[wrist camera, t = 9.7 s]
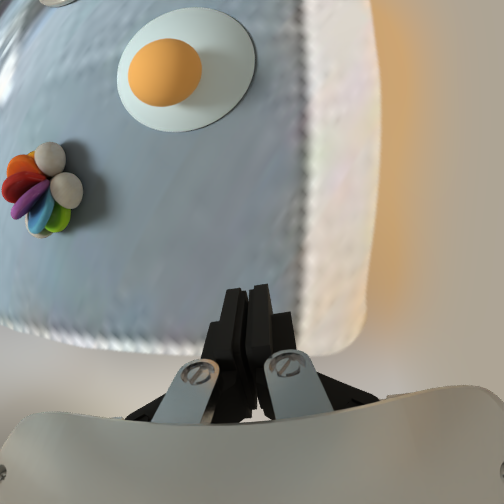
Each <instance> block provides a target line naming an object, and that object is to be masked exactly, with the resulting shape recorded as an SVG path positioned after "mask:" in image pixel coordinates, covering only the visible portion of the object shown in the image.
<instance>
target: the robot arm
mask: <svg viewBox="0 0 504 504" xmlns="http://www.w3.org/2000/svg"><path fill="white" fill-rule="evenodd" d="M39 1H40V2H41V3H42V4H44V5H45V6H48V7H60V6H64V5H66V4H68V3H71V2H73V1H74V0H39ZM257 397H258V400H259V404H260V407H261V409H263V411H264V414H265V416H266V417H268V418H270V419H271V420H269V421H258V422H244V423H239V422H240V421H242V420H243V419H244V418H251V417H252V410H255V409H257ZM0 504H504V402H503V401H502V400H501V399H500V398H499V397H498V396H497V395H495V394H494V393H493V392H491V391H490V390H488V389H486V388H483V387H479V386H472V385H457V386H445V387H438V388H431V389H427V390H422V391H417V392H413V393H405V394H395V395H387V398H386V399H378V398H377V397H376V396H374V395H372V394H370V393H367V392H365V391H362V390H360V389H357V388H354V387H352V386H349V385H347V384H344V383H342V382H339V381H337V380H335V379H333V378H330V377H328V376H325V375H323V374H320V373H318V372H316V370H315V368H314V366H313V364H312V361H311V359H310V358H309V356H308V355H307V354H306V353H304V352H302V351H299V350H297V349H296V343H295V336H294V330H293V324H292V318H291V312H284V313H277V314H273V311H272V305H271V299H270V294H269V288H268V284H262V285H256V286H254V289H252V290H249V302H248V297H247V292H246V291H241V288H235V289H228V290H227V291H226V295H225V299H224V303H223V308H222V312H221V316H220V321H216V322H211V323H210V326H209V329H208V333H207V337H206V340H205V344H204V348H203V352H202V355H201V359H197V360H193V361H191V362H188V363H186V364H185V365H184V366H182V367H181V368H180V370H179V371H178V373H177V374H176V377H175V378H174V380H173V382H172V383H171V386H170V387H169V389H168V391H167V393H165V394H164V395H162V396H160V397H159V398H157V399H155V400H154V401H152V402H150V403H148V404H147V405H145V406H143V407H142V408H140V409H138V410H136V411H135V412H133V413H131V414H130V415H128V416H127V417H126V418H125V420H124V419H123V418H122V417H115V418H104V417H97V416H90V415H83V414H76V413H68V412H42V413H36V414H32V415H30V416H27V417H25V418H24V419H22V420H21V422H19V424H18V425H17V426H16V427H15V428H14V430H13V431H12V432H11V434H10V435H9V437H8V438H7V440H6V441H5V443H4V445H3V446H2V448H1V449H0Z"/></svg>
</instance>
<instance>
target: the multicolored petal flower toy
mask: <svg viewBox="0 0 504 504" xmlns="http://www.w3.org/2000/svg"><path fill="white" fill-rule="evenodd" d="M65 163H66V156H65V152H64V150H63V148H62V147H61V146H60V145H59V144H57V143H54V142H46V143H43V144H41V145H40V146H38V147H37V149H36V150H35V151H32V152H30V153H29V154H28V155H18V156H15V157H14V158H13V159H12V160H11V161H10V162H9V164H8V167H7V179H6V180H5V181H4V183H3V185H2V195H3V197H4V198H5V200H7V201H8V202H10V203H15V204H14V206H13V207H12V209H11V216H12V218H13V219H19V218H21V217H22V216H24V215H25V214H26V218H25V223H26V227H27V230H28V231H29V233H30V234H31V235H33V236H34V237H36V238H46V237H48V236H50V235H51V234H52V233H53V232H60V231H62V230H64V229H65V228H66V226H67V225H68V223H69V221H70V217H71V209H74V208H76V207H77V206H78V205H79V204H80V202H81V200H82V196H83V187H82V183H81V181H80V180H79V178H78V177H77V176H75V175H74V174H72V173H68V172H63V173H62V171H63V169H64V167H65ZM52 177H54V178H53V179H52V180H51V178H52ZM50 180H51V183H50Z"/></svg>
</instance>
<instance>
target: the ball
mask: <svg viewBox="0 0 504 504" xmlns="http://www.w3.org/2000/svg"><path fill="white" fill-rule="evenodd" d="M201 75H202V64H201V60H200V57H199V55H198V53H197V52H196V51H195V49H194V48H193V47H191V46H190V45H189V44H187V43H186V42H184V41H181V40H178V39H171V38H165V39H159V40H156V41H153V42H151V43H149V44H147V45H145V46H144V47H143V48H141V49H140V50H139V51H138V52H137V53H136V55H135V56H134V57H133V59H132V61H131V63H130V66H129V70H128V82H129V86H130V88H131V90H132V92H133V94H134V95H135V96H136V97H137V98H138V99H139V100H141V101H142V102H144V103H146V104H148V105H151V106H156V107H167V106H172V105H175V104H177V103H180V102H181V101H183V100H185V99H186V98H187V97H189V96H190V95H191V94H192V93H193V92H194V90H195V89H196V88H197V86H198V84H199V82H200V79H201Z"/></svg>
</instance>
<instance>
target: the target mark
mask: <svg viewBox="0 0 504 504" xmlns="http://www.w3.org/2000/svg"><path fill="white" fill-rule="evenodd" d="M165 38H171V39H178V40H181V41H184V42H186V43H187V44H189V45H190V46H191V47H193V48H194V49H195V51H196V52H197V53H198V55H199V57H200V60H201V64H202V75H201V79H200V82H199V84H198V86H197V88H196V89H195V90H194V92H193V93H192V94H191V95H190V96H189V97H187V98H186V99H185V100H183V101H181V102H180V103H177V104H175V105H172V106H167V107H156V106H151V105H148V104H146V103H144V102H142V101H141V100H139V99H138V98H137V97H136V96H135V95H134V94H133V92H132V90H131V88H130V86H129V82H128V70H129V66H130V63H131V61H132V59H133V57H134V56H135V55H136V53H137V52H138V51H139V50H140V49H141V48H143V47H144V46H145V45H147V44H149V43H151V42H153V41H156V40H159V39H165ZM254 67H255V54H254V48H253V45H252V42H251V39H250V37H249V35H248V34H247V32H246V31H245V29H244V28H243V27H242V26H241V25H240V24H239V23H238V22H237V21H236V20H234V19H233V18H232V17H230V16H228V15H226V14H225V13H222V12H220V11H217V10H213V9H209V8H200V7H194V8H183V9H178V10H174V11H171V12H168V13H166V14H163V15H161V16H159V17H157V18H155V19H154V20H152V21H151V22H149V23H148V24H147V25H145V26H144V27H143V28H142V29H141V30H140V31H138V32H137V33H136V35H135V36H134V37H133V38H132V39H131V41H130V42H129V44H128V45H127V47H126V48H125V50H124V52H123V54H122V57H121V60H120V63H119V67H118V73H117V87H118V92H119V95H120V98H121V101H122V103H123V105H124V106H125V108H126V109H127V111H128V112H129V113H130V114H131V115H132V116H133V117H134V118H135V119H136V120H138V121H139V122H140V123H142V124H144V125H146V126H148V127H150V128H153V129H156V130H161V131H166V132H184V131H190V130H195V129H198V128H201V127H204V126H206V125H208V124H211V123H213V122H214V121H216V120H218V119H220V118H221V117H223V116H224V115H225V114H227V113H228V112H229V111H230V110H231V109H232V108H233V107H234V106H235V105H236V104H237V103H238V102H239V101H240V100H241V98H242V97H243V95H244V94H245V92H246V91H247V89H248V87H249V85H250V83H251V79H252V76H253V73H254Z"/></svg>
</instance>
